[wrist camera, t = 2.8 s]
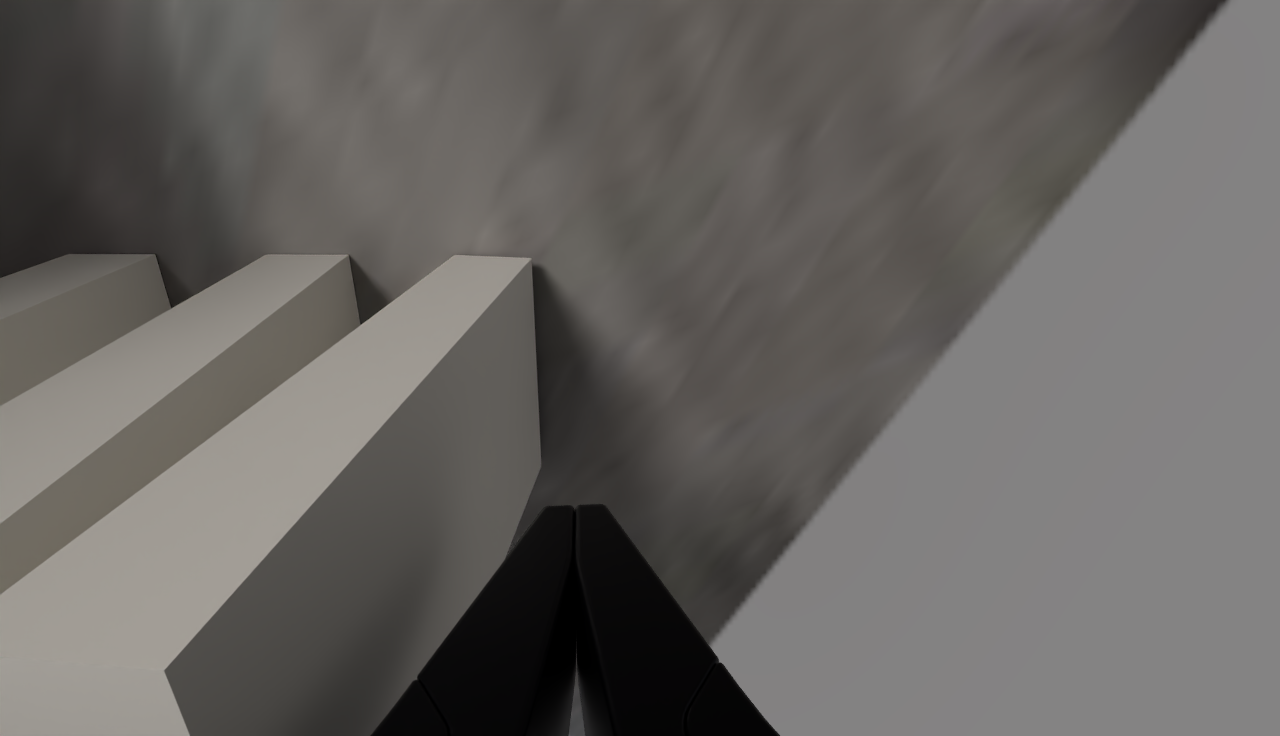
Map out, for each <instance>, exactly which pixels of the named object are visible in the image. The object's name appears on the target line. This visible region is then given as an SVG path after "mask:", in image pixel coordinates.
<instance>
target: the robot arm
mask: <svg viewBox="0 0 1280 736" xmlns="http://www.w3.org/2000/svg"><path fill="white" fill-rule="evenodd" d="M576 641H577V670H578V680H579V690H580V697H581V705H582V713H583V721H584V728H585V736H780V735H779V734H778V733H777V732H776V731H775V730H774V729H773V727H772V726H771V725H770V724H769V723H768V722H767V721H766V720H765V718H764V717H763V716H762V715H761V713H760V712H759V711H758V709H757V708H756V707H755V706H754V704H753V703H752V702H751V701H750V699H749V698H748V697H747V695H745V693H744V692H743V690H742V689H741V688H740V687H739V685H738V684H737V683H736V681H735V680H734V679H733V677H732V676H731V674H730V673H729V672H728V670H727V669H726V668H725V666H724V665H723V664H722V663H719V659H718V657H717V656H716V655H715V653H714V652H713V650H712V649H711V648H710V646H709V645H708V644H707V642H706V641H705V640H704V638H703V637H702V636H701V634H700V633H699V632H698V630H697V629H696V627H695V626H694V625H693V623H692V622H691V621H690V619H689V618H688V617H687V615H686V614H685V613H684V611H683V610H682V609H681V607H680V606H679V604H678V603H677V602H676V600H675V599H674V598H673V596H672V595H671V594H670V592H669V591H668V590H667V588H666V587H665V586H664V584H663V583H662V581H661V580H660V579H659V577H658V576H657V575H656V573H655V572H654V571H653V569H652V568H651V567H650V565H649V564H648V563H647V561H646V560H645V559H644V557H643V556H642V554H641V553H640V552H639V550H638V549H637V548H636V546H635V545H634V544H633V542H632V541H631V540H630V538H629V537H628V536H627V534H626V533H625V531H624V530H623V529H622V527H621V526H620V525H619V523H618V522H617V521H616V519H615V518H614V517H613V515H612V514H611V513H610V511H609V510H608V508H607V507H606V506H605V505H603V504H592V505H578V506H577V507H576V509H575V510H574V508H573V507H572V506H570V505H564V506H546V507H545V508H543V510H542V511H541V512H540V514H539V515H538V516H537V518H536V519H535V520H534V521H533V523H532V524H531V525H530V527H529V528H528V529H527V531H526V532H525V533H524V535H523V536H522V537H521V539H520V540H519V541H518V543H517V544H516V545H515V547H514V548H513V549H512V551H511V552H510V553H509V555H508V556H507V557H506V559H505V560H504V561H503V563H502V564H501V565H500V567H499V568H498V569H497V571H496V572H495V573H494V575H493V576H492V577H491V579H490V580H489V581H488V582H487V584H486V585H485V586H484V588H483V589H482V590H481V592H480V593H479V594H478V596H477V597H476V598H475V600H474V601H473V602H472V604H471V605H470V606H469V608H468V609H467V610H466V612H465V613H464V614H463V616H462V617H461V618H460V620H459V621H458V622H457V624H456V625H455V626H454V628H453V629H452V630H451V632H450V633H449V634H448V635H447V637H446V638H445V639H444V641H443V642H442V643H441V645H440V646H439V647H438V649H437V650H436V651H435V653H434V654H433V655H432V657H431V658H430V659H429V661H428V662H427V663H426V665H425V666H424V667H423V669H422V670H421V671H420V673H419V674H418V676H417V680H414V681H412V683H411V684H410V685H409V687H408V688H407V689H406V691H405V692H404V693H403V695H402V696H401V697H400V699H399V700H398V701H397V703H396V704H395V705H394V707H393V708H392V709H391V710H390V712H389V713H388V714H387V715H386V717H385V718H384V719H383V720H382V722H381V723H380V724H379V725H378V727H377V728H376V729H375V730H374V732H373V733H372V734H371V735H370V736H568V734H569V726H570V718H571V709H572V701H573V693H574V684H575V673H576Z"/></svg>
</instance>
